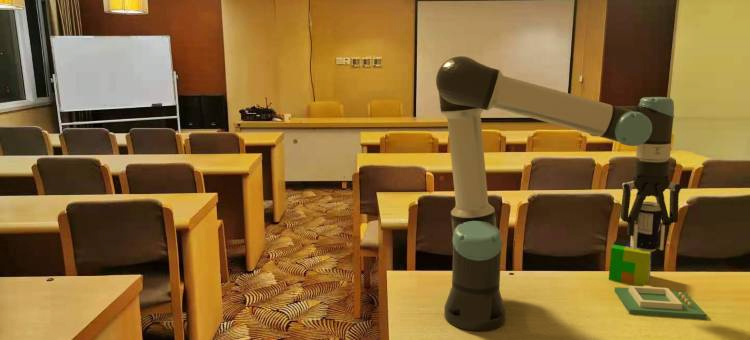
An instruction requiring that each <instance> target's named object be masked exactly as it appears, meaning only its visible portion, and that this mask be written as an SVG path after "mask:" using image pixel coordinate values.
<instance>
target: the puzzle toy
mask: <svg viewBox="0 0 750 340" xmlns="http://www.w3.org/2000/svg"><path fill="white" fill-rule="evenodd" d="M630 241H631V239H630V240H629V239H628V240H627V239H623V238H616V239H615V241H614V242H613V244H612V245H611V249H610V260H609V270H608V271H609V272H608V280H609V281H612V282H617V283H622V284H629V285H632V286H642V287H643V286H648V282H649V280H650V277H651V269H652V258H653V252H646V251H641V250H639V249H638V248H637V247H636V249H633V248H632V247H631V246H630Z"/></svg>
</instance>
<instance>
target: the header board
mask: <svg viewBox="0 0 750 340" xmlns="http://www.w3.org/2000/svg"><path fill="white" fill-rule="evenodd" d="M614 293H615V294H616V295H617V297H618V299H619V300H620V302H621V303H622V305H623V306H624V308H625V310H626V311H627V312H628V314H629V315H640V316H641V315H642V316H658V317H669V318H670V317H672V318H685V319H686V318H687V319H698V320H699V319H702V320H707V315H708V314H707V313H706V312H705V311H704V310H703V309H702V308H701V307H700V306H699V305H698V304H697V303H696V302H695V301H694V300H693V299H692V298H691V296H690V295H689V294H688V293H687V292H685V291H684V290H671V289H669V288H668V287H660V286H659V287H657V286H656V287H655V286H652V285H647V286H638V285H628V287H621V286H620V287H617V286H615V287H614Z"/></svg>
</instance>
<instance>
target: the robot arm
mask: <svg viewBox="0 0 750 340" xmlns="http://www.w3.org/2000/svg"><path fill="white" fill-rule="evenodd" d="M435 83H436V84H435V86H436V88H437V92H438V99H439V108H440V113H441V114H442V115H443V116H445V117H446V119H447V130H448V140H449V141H448V142H449V148H450V159H451V161H450V162H451V169H452V171H451V172H452V180H453V181H452V182H453V188H454V189H453V190H454V198H455V206H454V207H453V209H452V210H450V217H451V226H452V228H451V229H452V271H451V273H452V277H451V278H452V279H451V288H450V291H449V294H448V295H447V299H446V301H445V304H444V311H443V312H444V313H443V315H444V319H445V320H446V321H447V322H448V323H449V324H451V325H452V326H455V327H457V328H460V329H462V330H465V331H466V330H467V331H472V332H473V331H474V332H487V331H492V330H496V329H498V328H500V327H502V326H503V325H504V324H505V322H506V314H507V313H506V308H505V304H504V300H503V298H502V294H501V291H500V285H501V284H500V283H501V282H500V281H501V263H502V261H501V260H502V259H501V258H502V248H503V238H502V232H501V230H500V229H499V228H498V227H497V221H496V220H497V219H496V211H495V207H494V206H492V205H491V204H490V203H489V197H488V195H489V194H488V185H487V174H486V173H487V172H486V162H485V152H484V151H485V150H484V140H483V129H482V128H483V127H482V126H483V125H482V118H481V117H482V115H481V114H482V113H483V112H484V110H485V111H489V110H491V109H498V110H502V111H506V112H508V113H509V112H510V113H512V114H517V115H520V116H524V117H527V118H531V119H535V120H539V121H542V122H546V123H550V124H553V125H555V126H560V127H562V128H563V127H564V128H568V129H571V130H575V131H578V132H583V133H584V134H585V133H586V134H589V135H590V136H591V137H600V138H603V139H607V140H610V141H614V142H618V143H620V145H621V144H622V145H624V146H629V147H630V146H631V147H636V154H635V157H636V161H635V168H634V169H635V171H634V178H633V179H632V181H628V182H625V181H624V182H621V188H622V198H621V205H620V206H621V207H620V215H619V217H620V219H621V220H622V222H623V223H624V222H625V223H627V229H626V234H627V235H628V236H629V237H630V246H631V247H632V248H633V249H636V247H637V233H638V224H636V219H637V216H638V214H639V211H640V209H641V206H642V204H643V202H645V200H646V199H647V197H654V198H655V200H656V203H658V205H659V206H660V207H661V210H662V214H661V227H660V240H659V248H658V250H660V251H663V250H664V244H665V243H664V242H665V238H666V237H668V236H669V232H670V231H669V229H670V227H671V225H672V224H676V223H678V221H679V195H680V192H681V190H682V185H681V184H680V183H677V182H673V181H671V180H670V178H669V177H670V165H671V164H670V163H671V162H670V161H669V160H670V159H671V153H672V152H671V150H672V137H673V125H674V118H675V114H674V113H675V112H674V111H675V102H674V100H673V99H672V98H671V97H668V96H667V97H665V96H664V97H663V96H649V97H647V96H645V97H642V98H640V99H639V103H638V105H625V106H624V105H620V106H619V105H617V106H616V105H612V104H609V103H605V102H602V101H599V100H594V99H591V98H587V97H584V96H583V97H582V96H581V95H580V96H579V95H576V94H572V93H568V92H565V91H560V90H557V89H553V88H550V87H547V86H543V85H539V84H535V83H532V82H528V81H524V80H521V79H518V78H512V77H509V76H506V75H503V73H502V71H501V70H500V69H497V68H493V67H490V66H487V65H485V64H482V63H480V62H479V61H477V60H475V59H473V58H471V57H468V56H463V55H462V56H461V55H459V56H454V57H451V58H449V59H447V60H446V61H445V62H444V63H442V65H441V66H440V67H439V69H438V71H437V73H436V77H435ZM634 187H635V189H636V190H637V193H636V195H635V199H634V201H633V204H632V206H631V210H630V205H631V194H632V193H631V191H632V190H633V188H634ZM667 189H669V209H667V205H666V201H665V195H664V192H665V191H666V190H667ZM668 210H669V211H668ZM629 211H630V212H629ZM668 212H669V214H668Z"/></svg>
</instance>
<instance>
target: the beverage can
mask: <svg viewBox="0 0 750 340" xmlns="http://www.w3.org/2000/svg"><path fill="white" fill-rule="evenodd" d="M661 214H662V210H661V207H660V206H659V205H658V203H657V202H654V201H643V204H642V206H641V209H640V211H639V214H638V216H637V219H636V221H635V222H636V224H638V233H637V248H638V249H639V250H641V251H646V252H652V253H653V252H655V251H656V250H657V249H658V248H659V240H660V227H661V223H662V220H661ZM658 250H659V249H658Z"/></svg>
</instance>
